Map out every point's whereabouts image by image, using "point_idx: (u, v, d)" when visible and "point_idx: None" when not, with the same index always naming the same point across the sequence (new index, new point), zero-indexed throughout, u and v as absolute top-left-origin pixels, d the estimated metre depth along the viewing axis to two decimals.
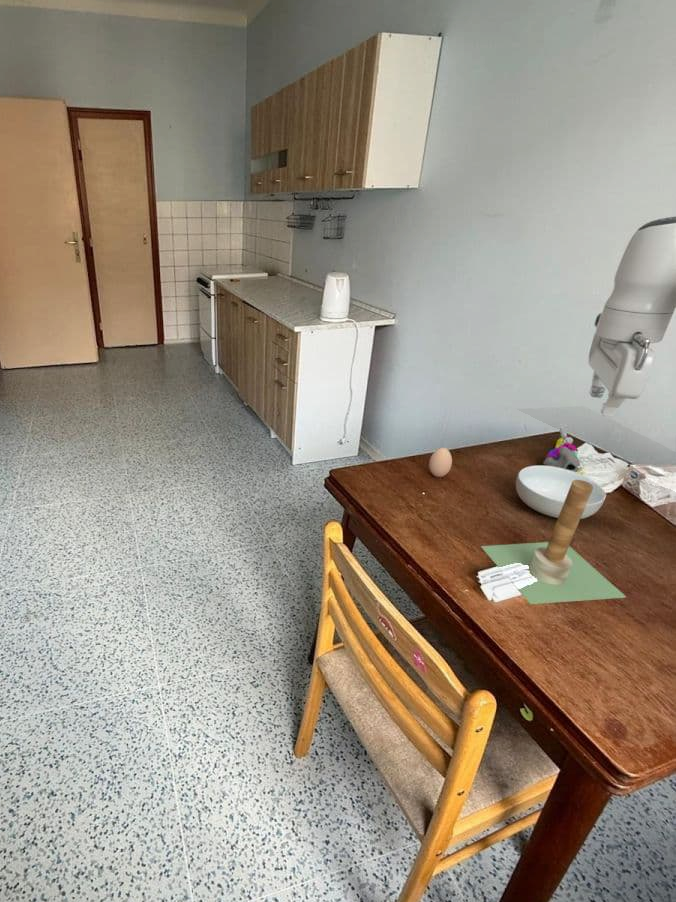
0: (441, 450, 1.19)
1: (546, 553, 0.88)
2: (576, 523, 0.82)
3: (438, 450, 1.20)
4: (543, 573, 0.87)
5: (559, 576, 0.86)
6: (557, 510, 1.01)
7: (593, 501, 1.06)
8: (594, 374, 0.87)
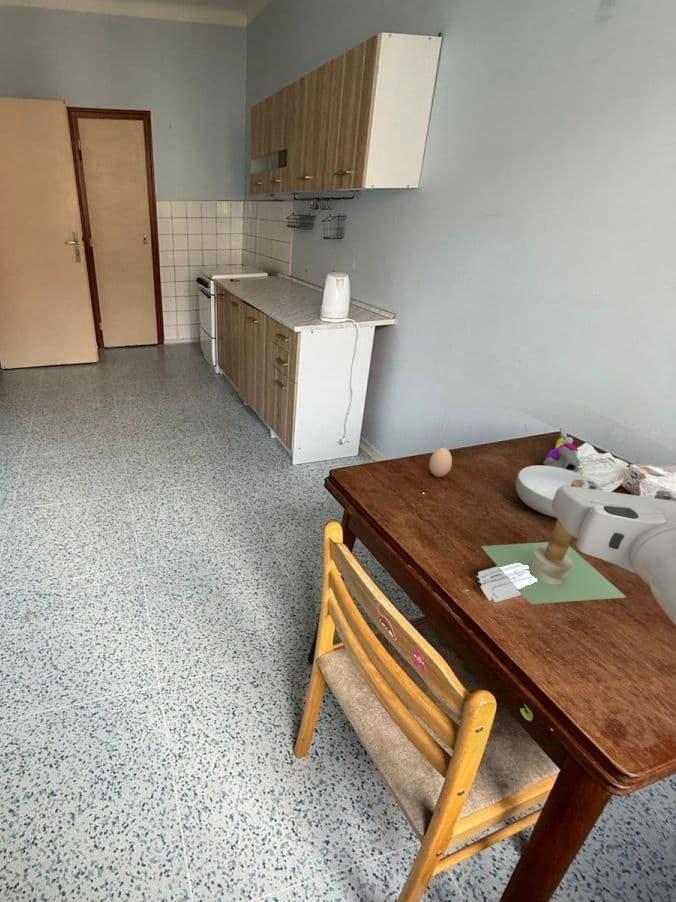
0: (441, 450, 1.19)
1: (546, 553, 0.88)
2: None
3: (438, 450, 1.20)
4: (543, 573, 0.87)
5: (559, 576, 0.86)
6: None
7: None
8: None
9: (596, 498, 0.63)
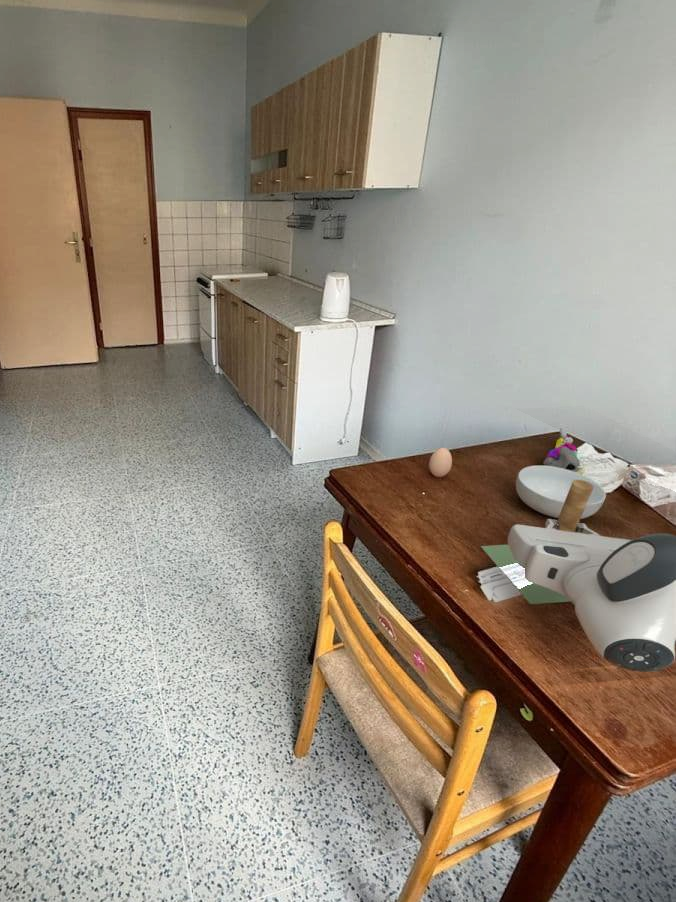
0: (441, 450, 1.19)
1: None
2: (576, 523, 0.82)
3: (438, 450, 1.20)
4: None
5: None
6: (557, 510, 1.01)
7: (593, 501, 1.06)
8: None
9: (540, 536, 0.79)
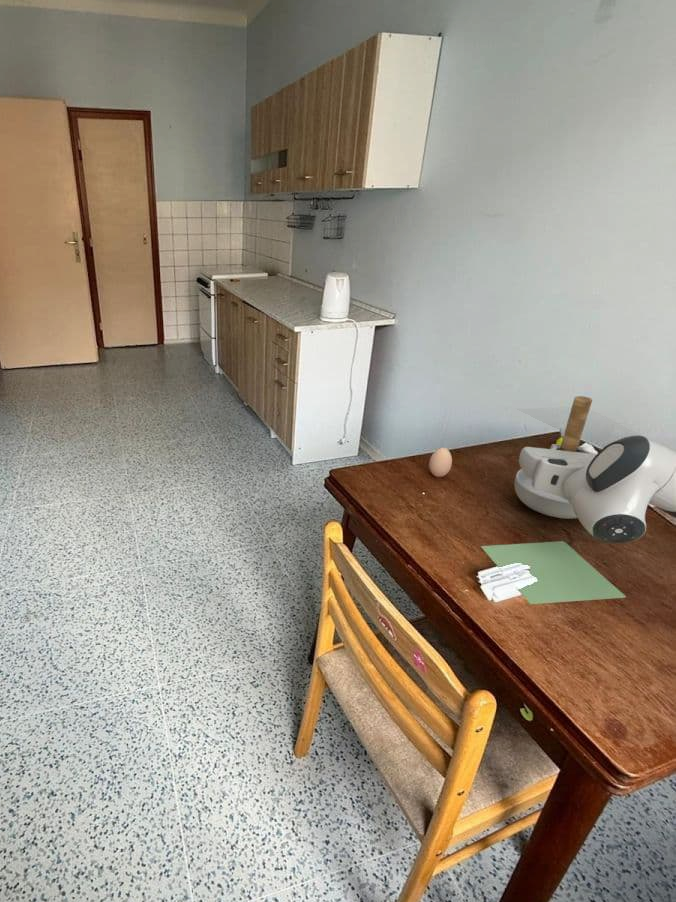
0: (441, 450, 1.19)
1: None
2: (580, 433, 0.99)
3: (438, 450, 1.20)
4: None
5: None
6: (556, 510, 1.01)
7: None
8: None
9: (545, 454, 0.98)
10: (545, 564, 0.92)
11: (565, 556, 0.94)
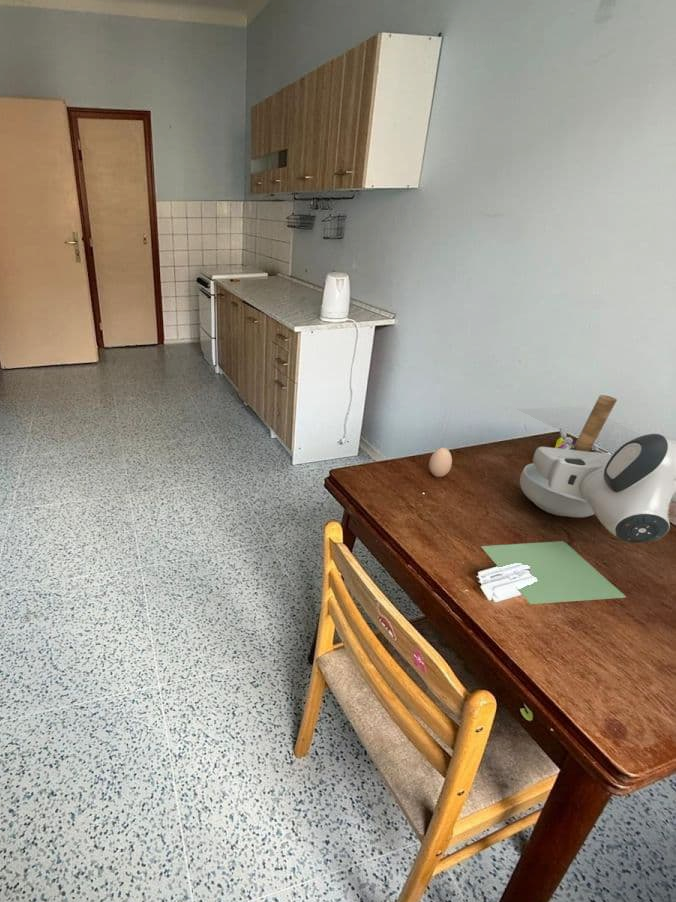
0: (441, 450, 1.19)
1: None
2: (598, 432, 0.98)
3: (438, 450, 1.20)
4: None
5: None
6: (561, 506, 1.01)
7: None
8: None
9: (560, 454, 0.97)
10: (545, 564, 0.92)
11: (565, 556, 0.94)
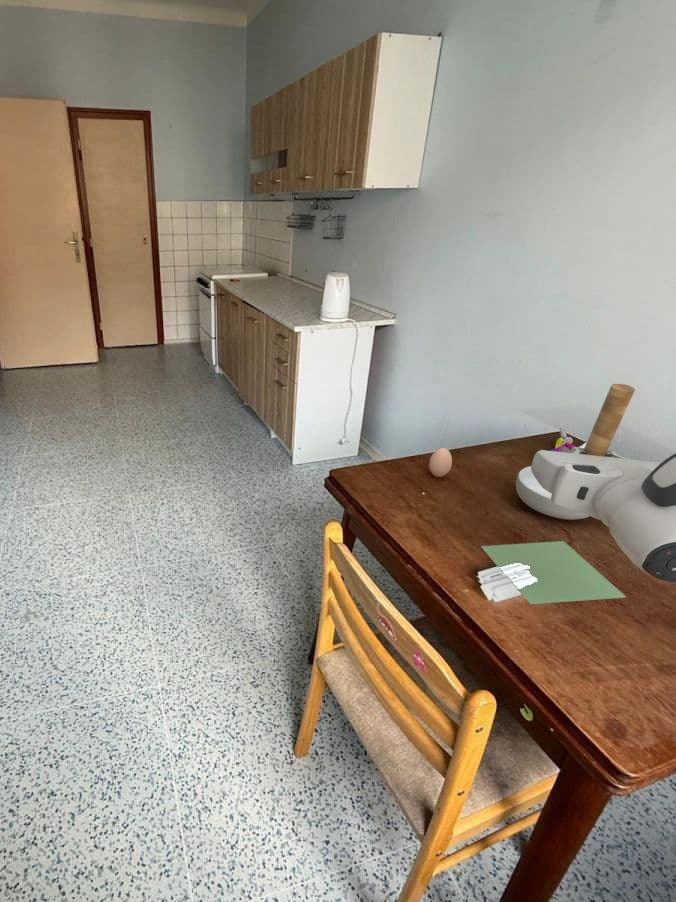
0: (441, 450, 1.19)
1: None
2: (614, 432, 0.76)
3: (438, 450, 1.20)
4: None
5: None
6: (557, 510, 1.01)
7: None
8: None
9: (567, 459, 0.75)
10: (545, 564, 0.92)
11: (565, 556, 0.94)
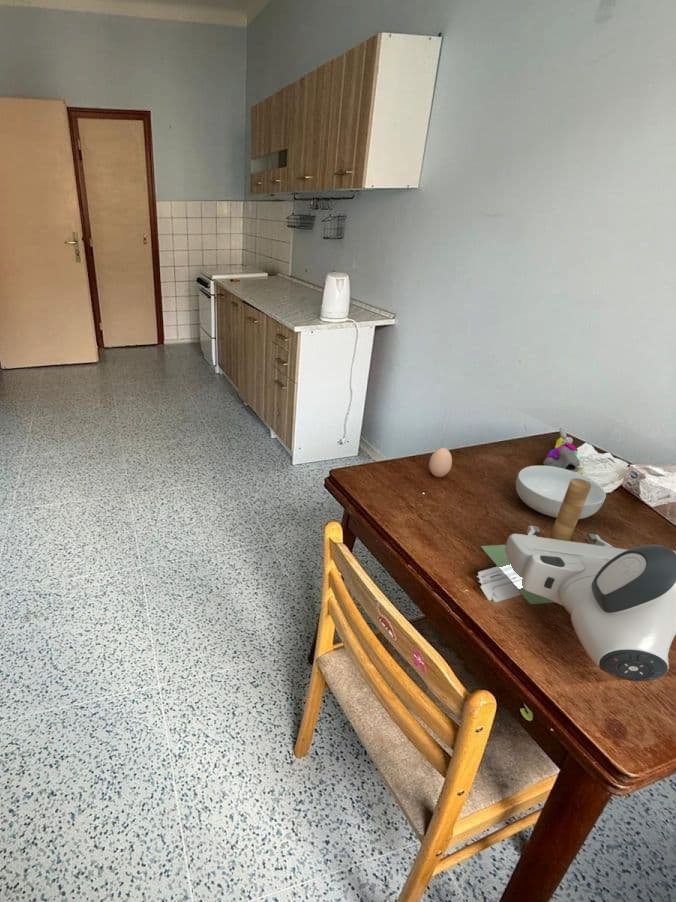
0: (441, 450, 1.19)
1: None
2: (575, 521, 0.83)
3: (438, 450, 1.20)
4: None
5: None
6: (557, 510, 1.01)
7: (593, 501, 1.06)
8: None
9: (537, 545, 0.80)
10: None
11: None
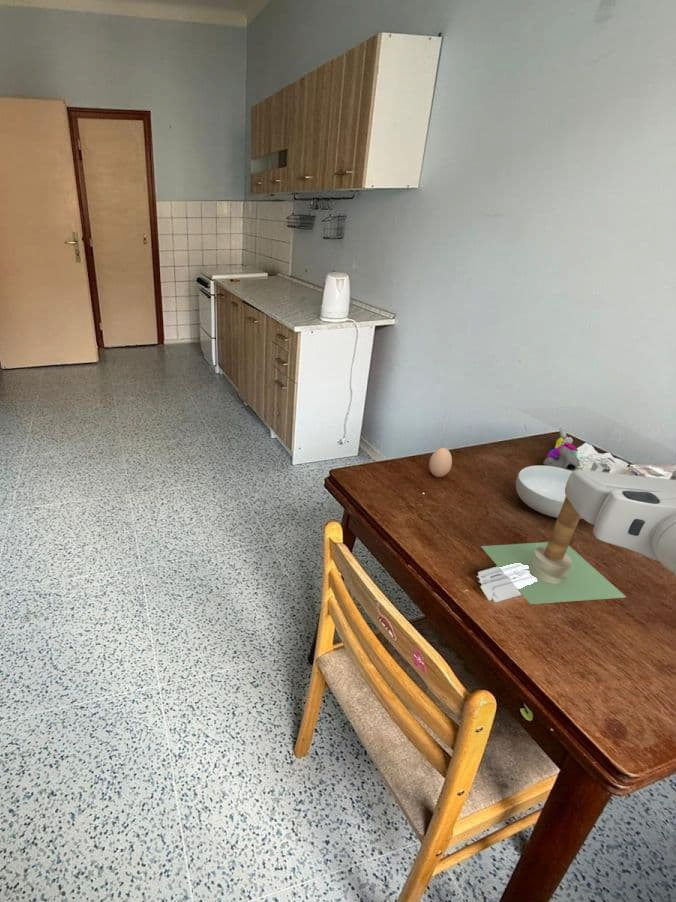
0: (441, 450, 1.19)
1: (546, 553, 0.88)
2: (576, 522, 0.83)
3: (438, 450, 1.20)
4: (544, 573, 0.87)
5: (560, 576, 0.86)
6: (557, 510, 1.01)
7: None
8: None
9: (612, 482, 0.60)
10: None
11: None
